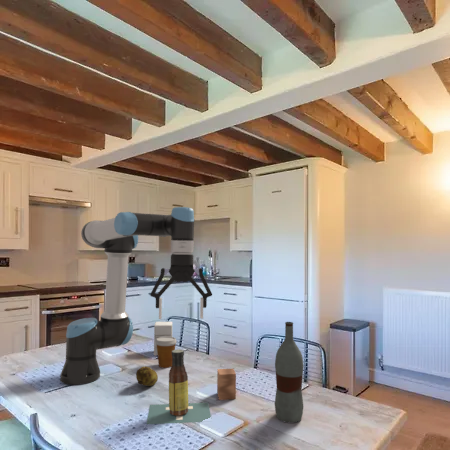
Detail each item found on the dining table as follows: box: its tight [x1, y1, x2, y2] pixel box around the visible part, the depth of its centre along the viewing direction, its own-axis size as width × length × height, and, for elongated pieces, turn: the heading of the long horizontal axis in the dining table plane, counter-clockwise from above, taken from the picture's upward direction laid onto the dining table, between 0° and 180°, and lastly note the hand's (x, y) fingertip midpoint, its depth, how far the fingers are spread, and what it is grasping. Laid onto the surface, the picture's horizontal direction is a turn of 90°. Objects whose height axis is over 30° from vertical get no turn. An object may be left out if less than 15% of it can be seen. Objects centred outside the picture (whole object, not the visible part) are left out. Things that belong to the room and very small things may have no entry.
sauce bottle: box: [168, 348, 189, 416], centre depth 123 cm, size 6×6×20 cm
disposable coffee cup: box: [156, 336, 178, 369], centre depth 170 cm, size 10×10×12 cm
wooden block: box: [216, 368, 237, 401], centre depth 136 cm, size 6×6×9 cm
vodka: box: [274, 321, 304, 423], centre depth 121 cm, size 9×9×30 cm
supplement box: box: [153, 321, 173, 357], centre depth 190 cm, size 9×9×15 cm
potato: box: [135, 365, 159, 387], centre depth 146 cm, size 8×13×8 cm, turn 155°
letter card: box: [146, 402, 212, 425], centre depth 122 cm, size 20×14×1 cm
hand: (181, 318), depth 124 cm, fingers open, 13 cm apart
